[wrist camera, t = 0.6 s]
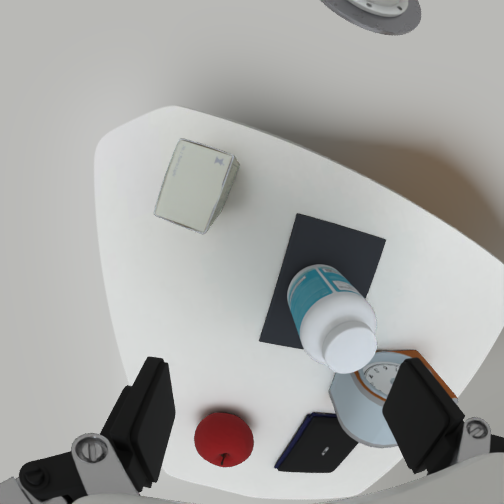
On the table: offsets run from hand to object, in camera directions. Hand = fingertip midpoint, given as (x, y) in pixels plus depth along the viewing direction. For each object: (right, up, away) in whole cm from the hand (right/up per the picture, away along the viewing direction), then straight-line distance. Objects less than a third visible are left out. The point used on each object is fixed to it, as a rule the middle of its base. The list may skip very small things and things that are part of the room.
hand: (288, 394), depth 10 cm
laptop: (+12, -31, +32) cm, 46 cm away
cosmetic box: (-6, +13, +21) cm, 26 cm away
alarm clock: (+18, -13, +28) cm, 36 cm away
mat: (+7, 0, +24) cm, 26 cm away
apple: (-6, -22, +30) cm, 38 cm away
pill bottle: (+7, +1, +24) cm, 25 cm away
